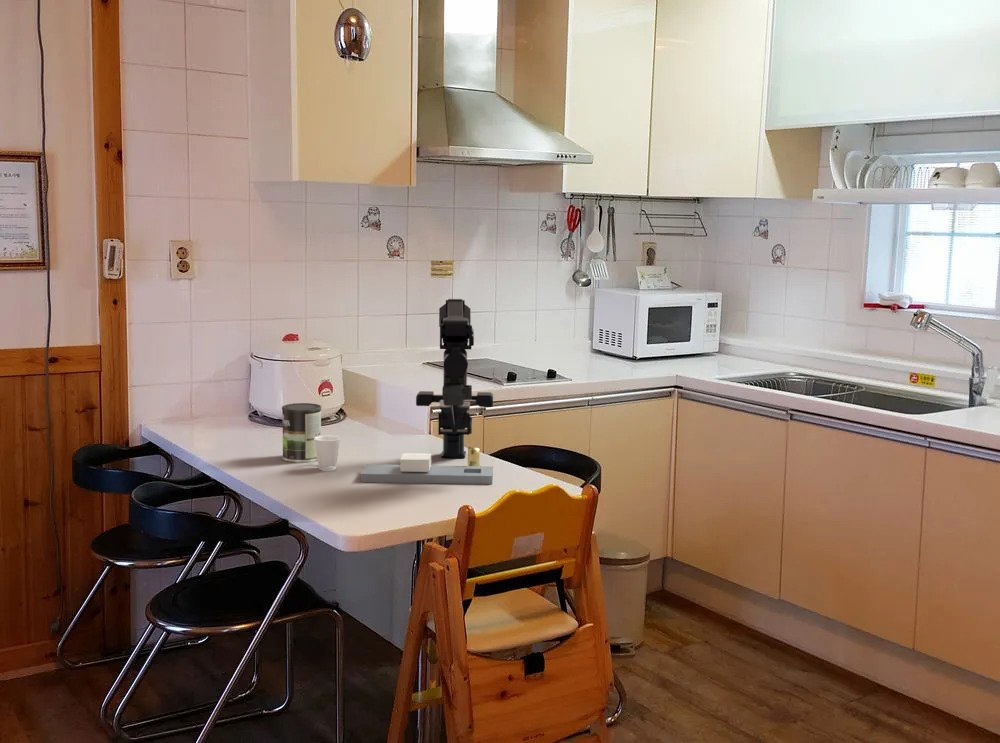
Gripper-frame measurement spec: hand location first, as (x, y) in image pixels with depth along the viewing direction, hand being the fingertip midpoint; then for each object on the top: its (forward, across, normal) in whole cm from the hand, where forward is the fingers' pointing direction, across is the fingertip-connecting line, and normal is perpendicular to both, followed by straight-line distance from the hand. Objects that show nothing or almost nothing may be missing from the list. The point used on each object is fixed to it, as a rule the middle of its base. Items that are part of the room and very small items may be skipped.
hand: (454, 433), depth 254 cm
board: (+11, -6, 0) cm, 13 cm away
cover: (+9, -10, 0) cm, 13 cm away
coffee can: (+12, -42, +19) cm, 47 cm away
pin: (+11, +4, +8) cm, 15 cm away
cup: (+12, -34, +9) cm, 37 cm away
